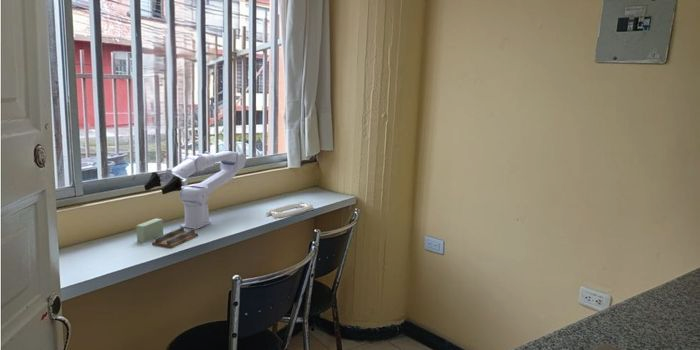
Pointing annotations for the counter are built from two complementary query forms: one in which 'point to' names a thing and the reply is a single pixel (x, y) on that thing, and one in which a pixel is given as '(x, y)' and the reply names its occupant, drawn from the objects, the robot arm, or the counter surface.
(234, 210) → the counter surface
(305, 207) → the white rectangular tray
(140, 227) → the pale green block
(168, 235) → the cabinet track
